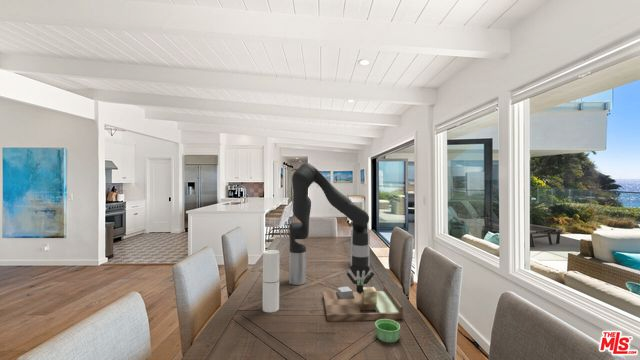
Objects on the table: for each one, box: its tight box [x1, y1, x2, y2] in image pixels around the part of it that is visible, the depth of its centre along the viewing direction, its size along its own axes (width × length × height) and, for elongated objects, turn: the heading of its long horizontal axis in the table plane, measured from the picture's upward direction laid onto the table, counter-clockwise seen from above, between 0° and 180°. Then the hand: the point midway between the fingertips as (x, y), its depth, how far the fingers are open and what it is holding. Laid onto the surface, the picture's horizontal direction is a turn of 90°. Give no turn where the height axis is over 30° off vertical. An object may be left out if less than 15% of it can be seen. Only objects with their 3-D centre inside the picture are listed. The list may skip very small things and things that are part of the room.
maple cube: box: [362, 286, 378, 304], centre depth 124 cm, size 6×6×6 cm
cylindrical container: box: [262, 249, 280, 313], centre depth 122 cm, size 7×7×25 cm
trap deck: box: [322, 285, 404, 322], centre depth 125 cm, size 31×24×5 cm
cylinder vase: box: [350, 227, 371, 267], centre depth 185 cm, size 12×12×25 cm
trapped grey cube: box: [336, 286, 354, 299], centre depth 131 cm, size 6×6×6 cm
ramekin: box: [374, 319, 401, 343], centre depth 101 cm, size 9×9×4 cm
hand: (359, 292), depth 124 cm, fingers closed
